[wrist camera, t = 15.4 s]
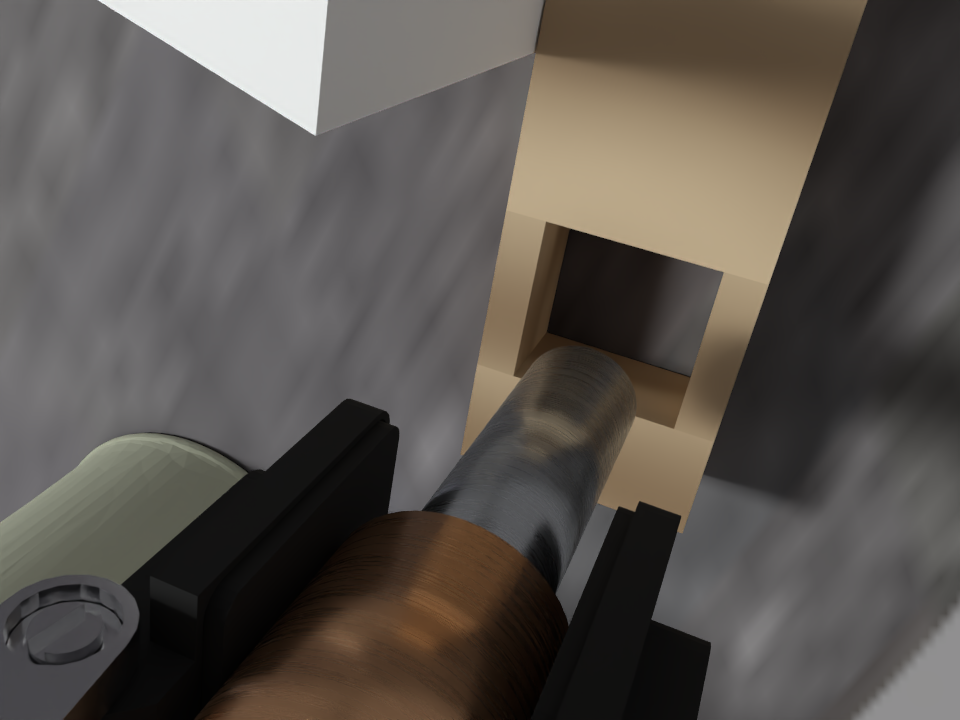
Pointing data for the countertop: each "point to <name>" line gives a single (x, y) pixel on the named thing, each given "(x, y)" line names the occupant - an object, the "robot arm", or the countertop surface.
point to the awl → (453, 572)
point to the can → (112, 510)
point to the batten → (661, 193)
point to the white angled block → (341, 47)
